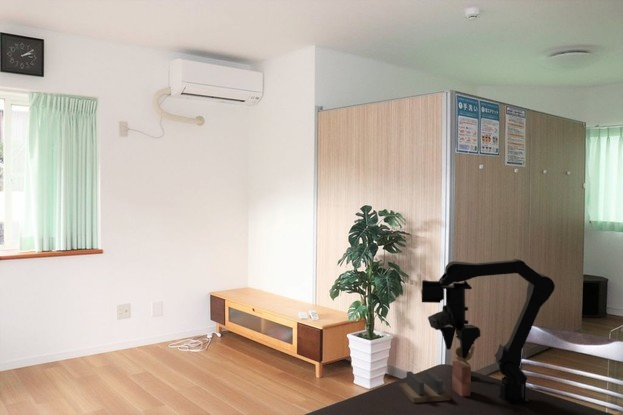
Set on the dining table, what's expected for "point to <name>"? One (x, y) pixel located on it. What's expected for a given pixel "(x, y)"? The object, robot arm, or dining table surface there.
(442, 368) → the dining table surface
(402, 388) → the bookend shelf
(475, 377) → the dining table surface
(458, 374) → the reddish brown block
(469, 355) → the snail figurine
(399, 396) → the dining table surface
